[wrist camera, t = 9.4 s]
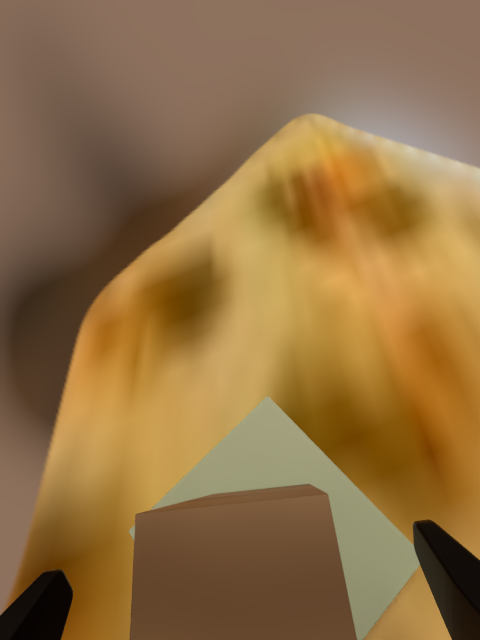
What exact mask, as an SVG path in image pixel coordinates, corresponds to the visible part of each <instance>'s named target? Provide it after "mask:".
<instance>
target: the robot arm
mask: <svg viewBox="0 0 480 640" xmlns="http://www.w3.org/2000/svg"><path fill="white" fill-rule="evenodd" d="M413 537H414V549H415V553H416V556H417V558H418V561H419V563H420V565H421V568H422V570H423V572H424V575H425V577H426V580H427V582H428V584H429V587H430V589H431V591H432V594H433V596H434V599H435V601H436V603H437V606H438V608H439V610H440V613H441V615H442V618H443V620H444V622H445V625H446V627H447V629H448V632H449V634H450V636H451V638H452V640H480V560H479V559H478V558H477V557H475V556H474V555H473V554H472V553H471V552H469V551H468V550H467V549H466V548H465V547H463V546H462V545H461V544H460V543H459V542H457V541H456V540H455V539H454V538H453V537H452V536H450V535H449V534H448V533H447V532H446V531H444V530H443V529H442V528H441V527H440V526H438V525H437V524H436V523H435V522H433V521H431V520H421V521H415V522H414V523H413ZM72 598H73V590H72V587H71V585H70V583H69V581H68V579H67V577H66V576H65V574H64V572H63V570H61V569H54V570H47V571H45V572H43V573H42V574H41V575H40V576H39V577H38V578H37V579H36V580H35V581H34V582H33V583H32V584H31V585H30V586H29V587H28V588H27V589H26V590H25V591H24V592H23V593H22V594H21V595H20V596H19V597H18V598H17V599H16V600H15V601H14V602H13V603H12V604H11V605H10V606H9V607H8V608H7V609H6V610H5V611H4V612H3V613H2V614H1V615H0V640H61V638H62V634H63V631H64V627H65V624H66V620H67V617H68V613H69V610H70V606H71V603H72Z"/></svg>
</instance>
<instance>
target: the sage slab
mask: <svg viewBox="0 0 480 640" xmlns="http://www.w3.org/2000/svg"><path fill="white" fill-rule="evenodd" d="M302 484H311V485H313V486H314V487H316V488H318V489H320V490H322V491H324V492H325V493H327V494H328V496H329V501H330V506H331V511H332V516H333V521H334V526H335V531H336V536H337V541H338V546H339V551H340V556H341V561H342V566H343V571H344V576H345V581H346V586H347V591H348V596H349V601H350V606H351V611H352V616H353V621H354V626H355V632H356V637H357V640H363V639H364V638H365V636H366V635H367V634H368V632H369V631H370V630H371V629H372V627H373V626H374V625H375V623H376V622H377V621H378V619H379V618H380V617H381V615H382V614H383V613H384V611H385V610H386V609H387V607H388V606H389V605H390V603H391V602H392V601H393V600H394V598H395V597H396V596H397V594H398V593H399V592H400V590H401V589H402V588H403V586H404V585H405V584H406V582H407V581H408V580H409V578H410V577H411V576H412V574H413V573H414V572H415V571H416V569H417V568H418V567H419V565H420V563H419V561H418V558H417V556H416V553H415V549H414V545H413V544H412V543H411V542H410V541H409V540H408V539H407V538H406V537H405V536H404V535H403V534H402V533H401V532H400V531H399V530H398V529H397V528H396V527H395V526H394V525H393V524H392V523H391V522H390V521H389V520H388V519H387V518H386V516H385V515H384V514H383V513H382V512H381V511H380V510H379V509H378V508H377V507H376V506H375V505H374V504H373V503H372V502H371V501H370V500H369V499H368V498H367V497H366V496H365V495H364V494H363V493H362V492H361V491H360V490H359V489H358V488H357V487H356V486H355V485H354V484H353V483H352V482H351V481H350V480H349V479H348V478H347V476H346V475H345V474H344V473H343V472H342V471H341V470H340V469H339V468H338V467H337V466H336V465H335V464H334V463H333V462H332V461H331V460H330V459H329V458H328V457H327V456H326V455H325V454H324V453H323V452H322V451H321V450H320V449H319V448H318V447H317V446H316V445H315V444H314V443H313V442H312V441H311V440H310V439H309V437H308V436H307V435H306V434H305V433H304V432H303V431H302V430H301V429H300V428H299V427H298V426H297V425H296V424H295V423H294V422H293V421H292V420H291V419H290V418H289V417H288V416H287V415H286V414H285V413H284V412H283V411H282V410H281V409H280V408H279V407H278V406H277V405H276V404H275V403H274V402H273V401H272V400H271V398H270V397H269V396H267V397H266V398H265V399H264V400H263V401H262V402H261V403H259V404H258V405H257V406H256V407H255V408H254V409H253V410H252V411H251V412H250V413H249V414H248V415H247V416H246V417H245V418H244V419H243V420H242V421H241V422H240V423H239V424H238V425H237V426H236V427H235V428H234V429H233V430H232V431H231V432H230V433H229V434H228V435H227V436H226V437H225V438H224V439H223V440H222V441H221V442H219V443H218V444H217V445H216V446H215V447H214V448H213V449H212V450H211V451H210V452H209V453H208V454H207V455H206V456H205V457H204V458H203V459H202V460H201V461H200V462H199V463H198V464H197V465H196V466H195V467H194V468H193V469H192V470H191V471H190V472H189V473H188V474H187V475H186V476H185V477H184V478H183V479H182V480H180V481H179V482H178V483H177V484H176V485H175V486H174V487H173V488H172V489H171V490H170V491H169V492H168V493H167V494H166V495H165V496H164V497H163V498H162V499H161V500H160V501H159V502H158V503H157V504H156V505H155V506H154V507H153V508H152V509H151V510H153V509H157V508H161V507H165V506H169V505H173V504H176V503H180V502H184V501H188V500H192V499H196V498H199V497H203V496H207V495H211V494H218V493H227V492H237V491H246V490H255V489H264V488H274V487H283V486H292V485H302ZM129 533H130V534H131V536H132V538H133V540H134V538H135V525H134V526H133V527H132V528H131V529H130V530H129Z"/></svg>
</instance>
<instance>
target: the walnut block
mask: <svg viewBox="0 0 480 640" xmlns="http://www.w3.org/2000/svg"><path fill="white" fill-rule="evenodd" d="M130 640H357V637H356V632H355V626H354V621H353V616H352V611H351V606H350V601H349V596H348V591H347V586H346V581H345V576H344V571H343V566H342V561H341V556H340V551H339V546H338V541H337V536H336V531H335V526H334V521H333V516H332V511H331V506H330V501H329V496H328V494H327V493H325V492H324V491H322V490H320V489H318V488H316V487H314V486H313V485H311V484H302V485H292V486H283V487H274V488H264V489H255V490H246V491H237V492H227V493H218V494H211V495H207V496H203V497H199V498H196V499H192V500H188V501H184V502H180V503H176V504H173V505H169V506H165V507H161V508H157V509H153V510H150V511H146V512H142V513H138V514H136V516H135V538H134V560H133V582H132V604H131V625H130Z"/></svg>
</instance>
